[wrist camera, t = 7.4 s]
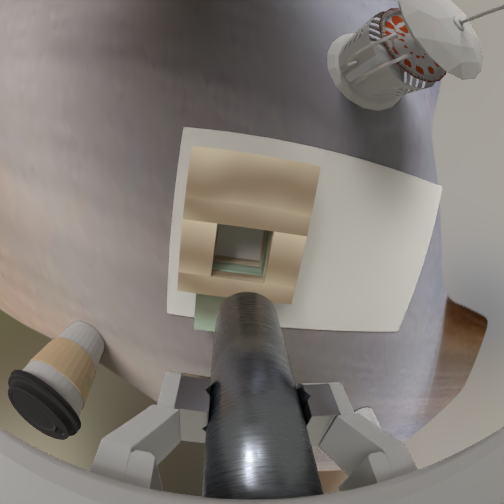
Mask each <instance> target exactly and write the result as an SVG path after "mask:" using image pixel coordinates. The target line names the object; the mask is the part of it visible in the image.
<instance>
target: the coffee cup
mask: <svg viewBox="0 0 504 504" xmlns="http://www.w3.org/2000/svg"><path fill="white" fill-rule="evenodd" d="M103 351H104V341H103V338H102V336H101V335H100V333H99V332H98V331H97V330H96V329H95V328H93V327H92V326H90V325H89V324H87V323H84V322H81V321H76V322H74V323H72V324H71V325H70V326H69V327H68V328H67V329H65V330H64V331H63V332H62V333H61V334H60V335H59V336H58V337H56V338H54V339H53V340H52V341H50V342H49V343H48V344H47V345H46V346H45V347H44V348H43V349H42V350H41V351H40V352H39V353H38V354H37V355H36V356H34V357H33V359H31V360H30V361H29V363H28V365H27V366H26V367H25V368H24V369H23V370H14V371H13V372H12V373H11V376H10V378H9V382H8V384H9V389H8V396H9V399H10V401H11V403H12V405H13V406H14V408H15V409H16V410H17V411H18V413H19V414H20V415H21V416H22V417H23V418H24V419H25V420H26V421H27V422H28V423H30V424H31V425H32V426H33V427H35V428H36V429H38V430H39V431H41V432H42V433H44V434H46V435H48V436H50V437H53V438H56V439H61V440H62V439H63V440H64V439H67V438H68V437H69V436H71V435H74V434H76V433H77V431H78V430H79V429H80V427H81V422H80V419H79V416H80V413H81V410H82V409H83V407H84V405H85V402H86V399H87V396H88V393H89V391H90V388H91V385H92V382H93V380H94V377H95V373H96V368H97V366H98V363H99V361H100V358H101V356H102V353H103Z"/></svg>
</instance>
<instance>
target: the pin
mask: <svg viewBox="0 0 504 504" xmlns="http://www.w3.org/2000/svg"><path fill="white" fill-rule="evenodd" d="M210 377H212V378H211V390H210V403H209V414H208V425H207V426H206V439H205V454H204V471H203V473H204V474H203V492H202V497H207V498H220V499H247V500H257V499H283V498H296V497H306V496H314V495H321V494H323V491H322V487H321V483H320V479H319V475H318V471H317V467H316V463H315V459H314V455H313V451H312V447H311V443H310V439H309V435H308V431H307V427H306V423H305V419H304V415H303V411H302V408H301V404H300V400H299V396H298V392H297V388H296V384H295V380H294V377H293V373H292V369H291V365H290V361H289V357H288V354H287V350H286V346H285V342H284V338H283V335H282V331H281V327H280V323H279V319H278V316H277V312H276V309H275V307H274V305H273V303H272V302H271V301H270V300H269V299H268V298H266V297H265V296H263V295H261V294H258V293H254V292H241V293H237V294H234V295H231V296H230V297H228V298H227V299H225V300H224V301H223V302H222V304H221V305H220V307H219V308H218V311H217V315H216V325H215V334H214V344H213V355H212V365H211V376H210Z"/></svg>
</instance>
